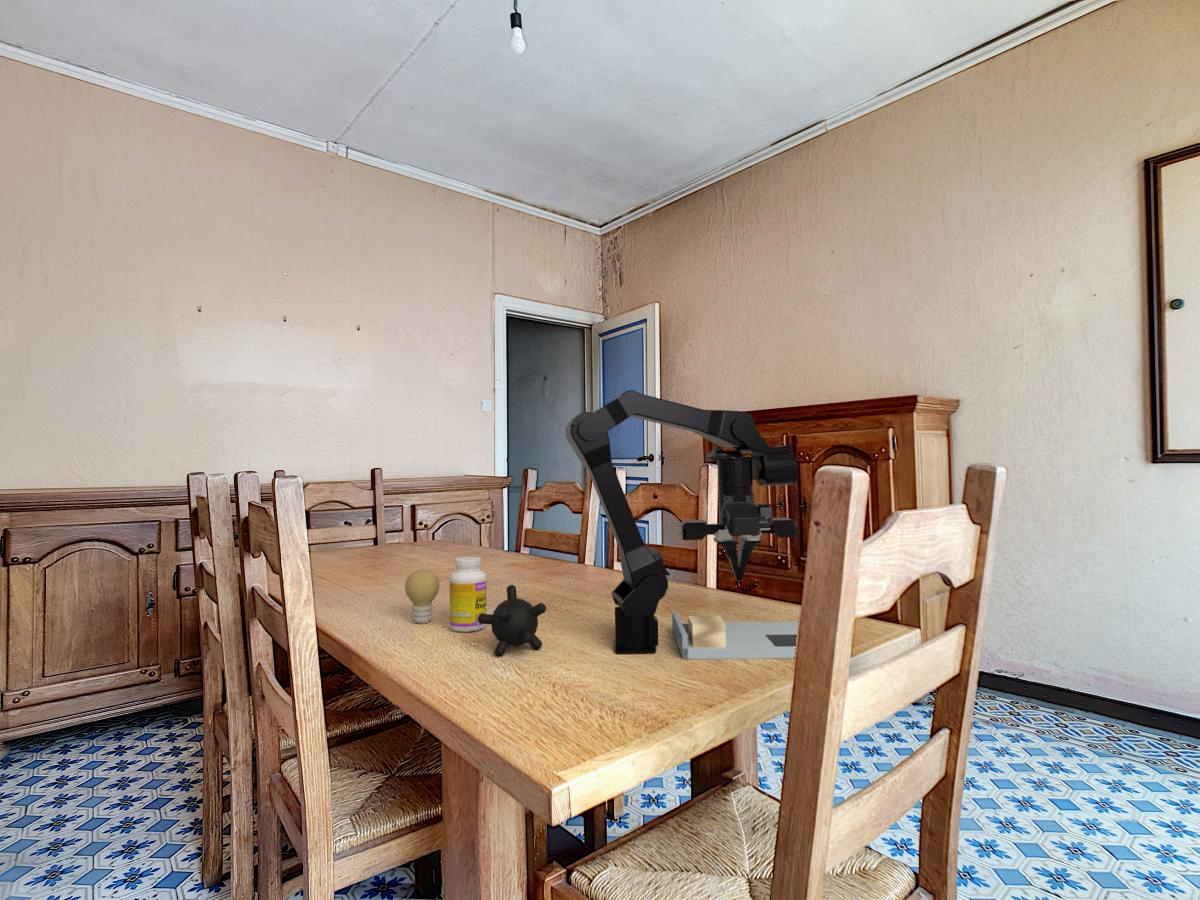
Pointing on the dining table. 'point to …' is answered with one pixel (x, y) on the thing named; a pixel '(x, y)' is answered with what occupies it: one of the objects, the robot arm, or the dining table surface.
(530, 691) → the dining table surface
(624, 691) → the dining table surface
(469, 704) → the dining table surface
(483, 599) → the supplement bottle
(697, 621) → the block
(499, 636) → the toy ball
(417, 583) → the light bulb
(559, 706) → the dining table surface
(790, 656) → the board
